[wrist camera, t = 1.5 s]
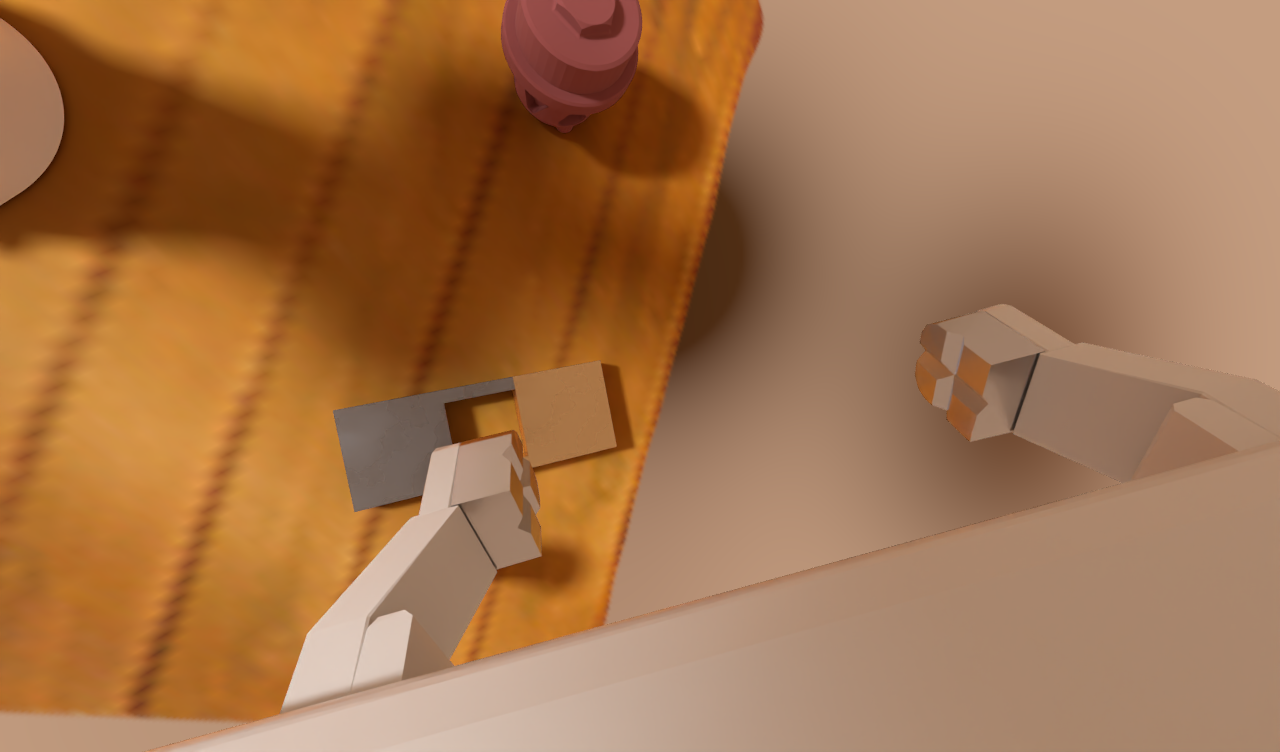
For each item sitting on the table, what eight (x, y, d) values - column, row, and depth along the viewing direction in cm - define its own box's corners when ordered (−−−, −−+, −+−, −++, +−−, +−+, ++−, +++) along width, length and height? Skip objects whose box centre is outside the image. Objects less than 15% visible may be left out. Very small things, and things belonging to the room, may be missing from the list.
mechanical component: (585, 30, 47) (623, 140, 48) (475, 47, 44) (518, 164, 45) (630, -88, 35) (679, 60, 36) (484, -78, 32) (542, 85, 33)
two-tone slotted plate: (360, 505, 40) (354, 512, 38) (339, 409, 40) (332, 410, 37) (608, 444, 47) (616, 446, 44) (593, 361, 46) (600, 360, 44)
